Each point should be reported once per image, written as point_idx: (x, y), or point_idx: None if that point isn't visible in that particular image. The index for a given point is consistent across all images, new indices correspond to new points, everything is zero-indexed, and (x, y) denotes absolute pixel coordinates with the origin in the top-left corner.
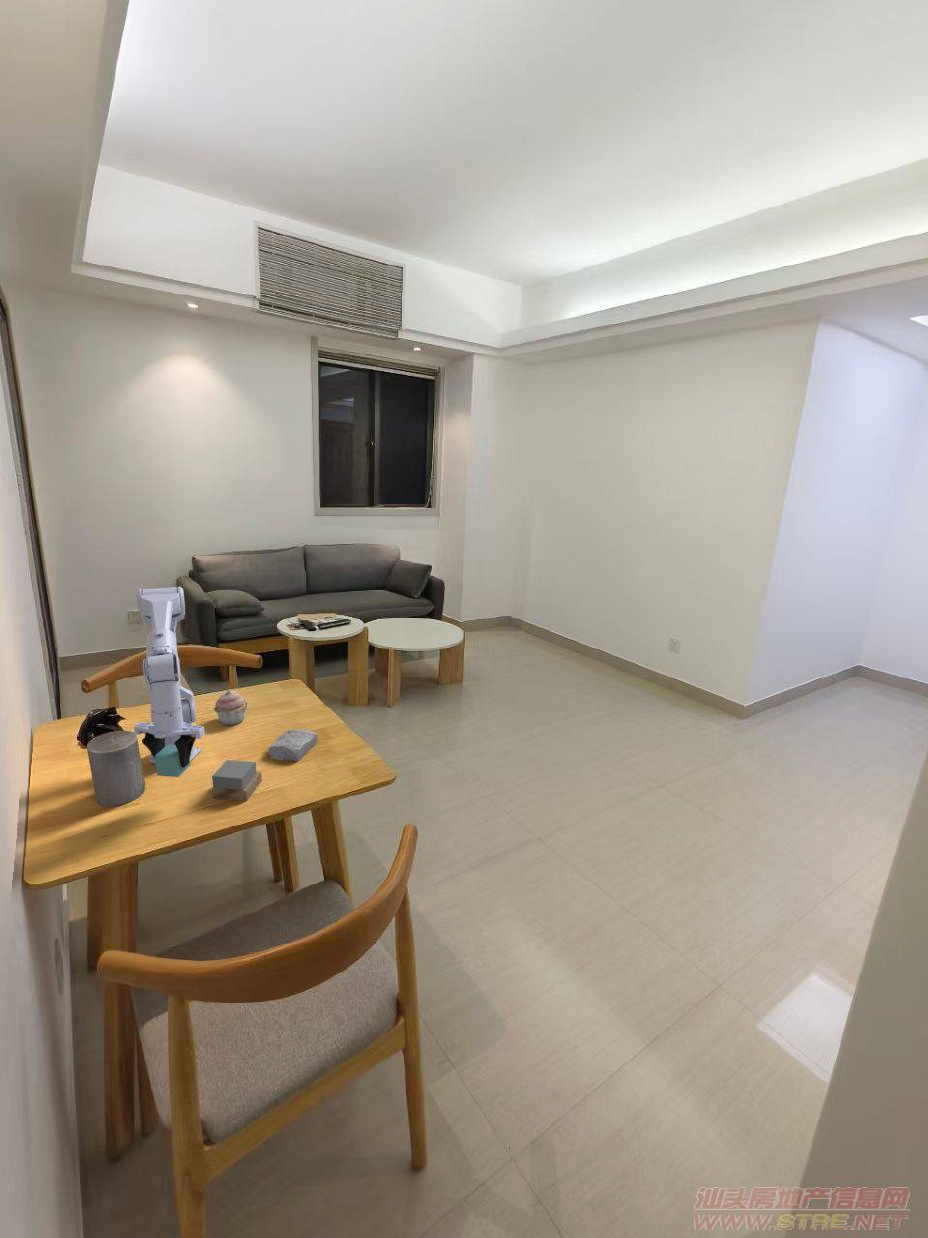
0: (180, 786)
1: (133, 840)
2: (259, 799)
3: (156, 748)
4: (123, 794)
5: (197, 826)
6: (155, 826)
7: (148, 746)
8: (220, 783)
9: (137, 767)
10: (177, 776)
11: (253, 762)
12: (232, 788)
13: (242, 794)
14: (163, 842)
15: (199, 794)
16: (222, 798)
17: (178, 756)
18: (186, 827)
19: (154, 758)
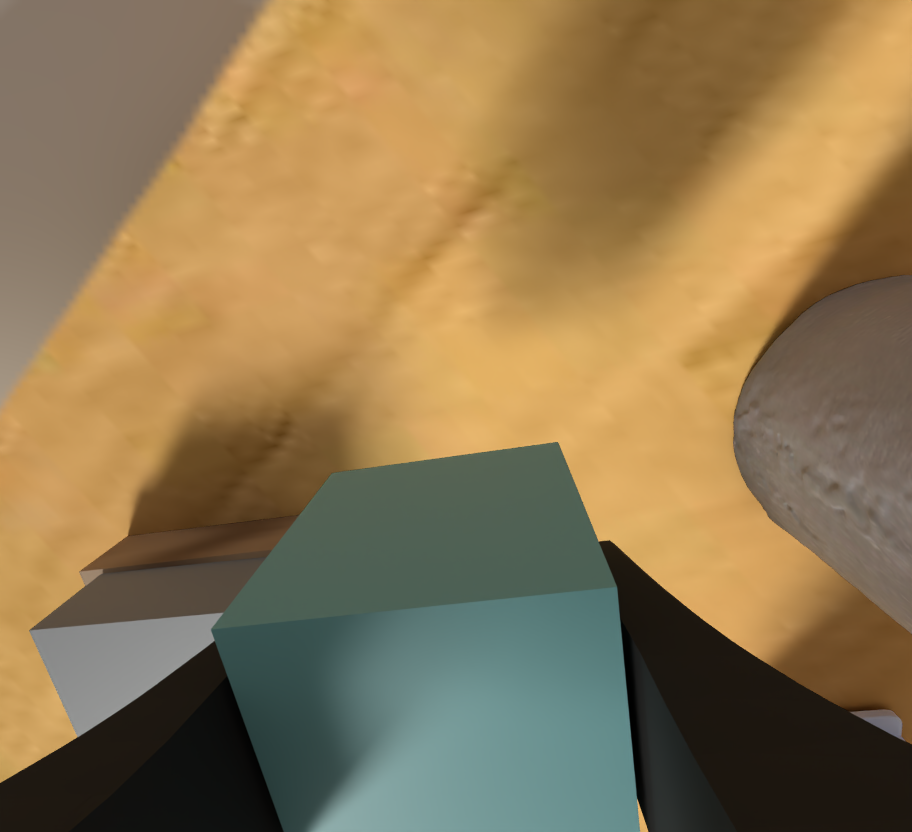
0: None
1: (452, 12)
2: (80, 559)
3: (677, 766)
4: (823, 343)
5: (192, 266)
6: (424, 189)
7: (887, 783)
8: (214, 581)
9: (883, 540)
10: (342, 474)
11: None
12: (158, 570)
13: (121, 553)
14: (258, 61)
15: None
16: (255, 521)
17: (241, 669)
18: (243, 239)
19: (662, 588)
